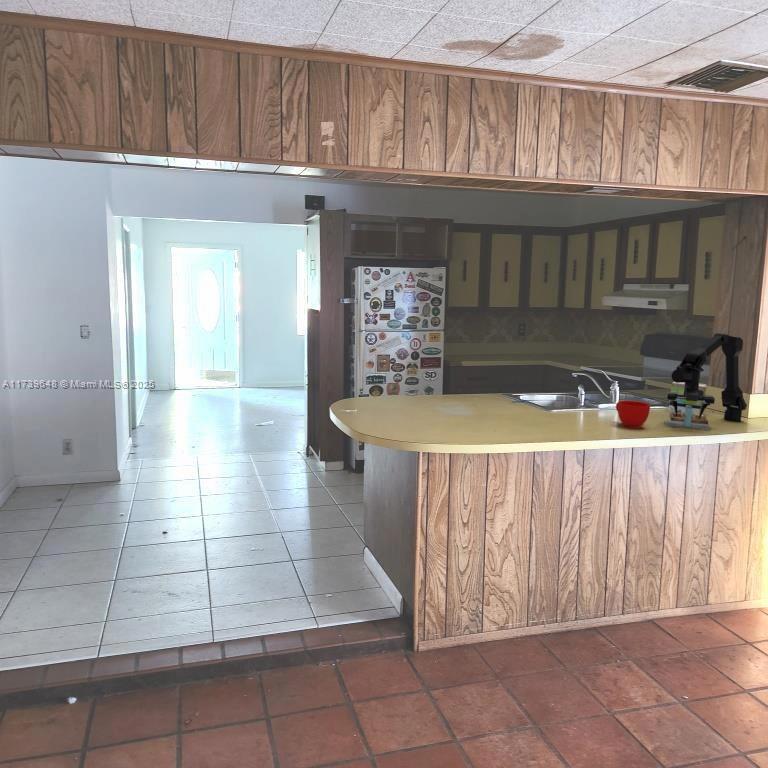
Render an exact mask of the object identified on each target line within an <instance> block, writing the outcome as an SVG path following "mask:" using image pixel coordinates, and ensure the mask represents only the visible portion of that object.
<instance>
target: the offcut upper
mask: <svg viewBox="0 0 768 768" xmlns="http://www.w3.org/2000/svg"><path fill="white" fill-rule="evenodd" d="M704 416H705V415H704V414H702V416H701V418H699V413H694V418H695V419H703V417H704Z"/></svg>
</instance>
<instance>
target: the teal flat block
mask: <svg viewBox="0 0 768 768" xmlns="http://www.w3.org/2000/svg"><path fill="white" fill-rule="evenodd" d="M684 414H685V419H684V424H685V426H688V427H690V425H691V417H692V415H693V414H692V407H691V406H688V405H686V410H685V413H684Z"/></svg>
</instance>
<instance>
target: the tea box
mask: <svg viewBox="0 0 768 768" xmlns="http://www.w3.org/2000/svg"><path fill="white" fill-rule="evenodd" d="M672 381H673V380H672ZM684 384H685V382H681V383H676V382H674V381H673V382H671V388H670V392H677V394H680V395H683V393H684ZM707 385H708V384H707V383H700V382H699V389H698V390H704V395H707V394H706V393H707ZM704 395H703V396H704ZM702 402H703V401H699V400H698V401H697V402H695V401H686V400H685V399H677V413H678V414H685V410H686V405H688V406H691V407H692V415H694V413H700V409H701V404H702ZM668 412H669V413H675V409H674V405H673V402H670V401H669V403H668Z"/></svg>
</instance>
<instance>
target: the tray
mask: <svg viewBox="0 0 768 768" xmlns="http://www.w3.org/2000/svg"><path fill="white" fill-rule="evenodd" d="M693 416H694V415H693V414H692V417H691V423H696V424H705V425H709V420H708V418H707V417H706V416H705V415H703V416H704V417H703V419H704V420H695V419H692V418H693ZM669 418H670V421H676V422H684V419H685V413H677V416H676V413H675V412H669Z"/></svg>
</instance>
